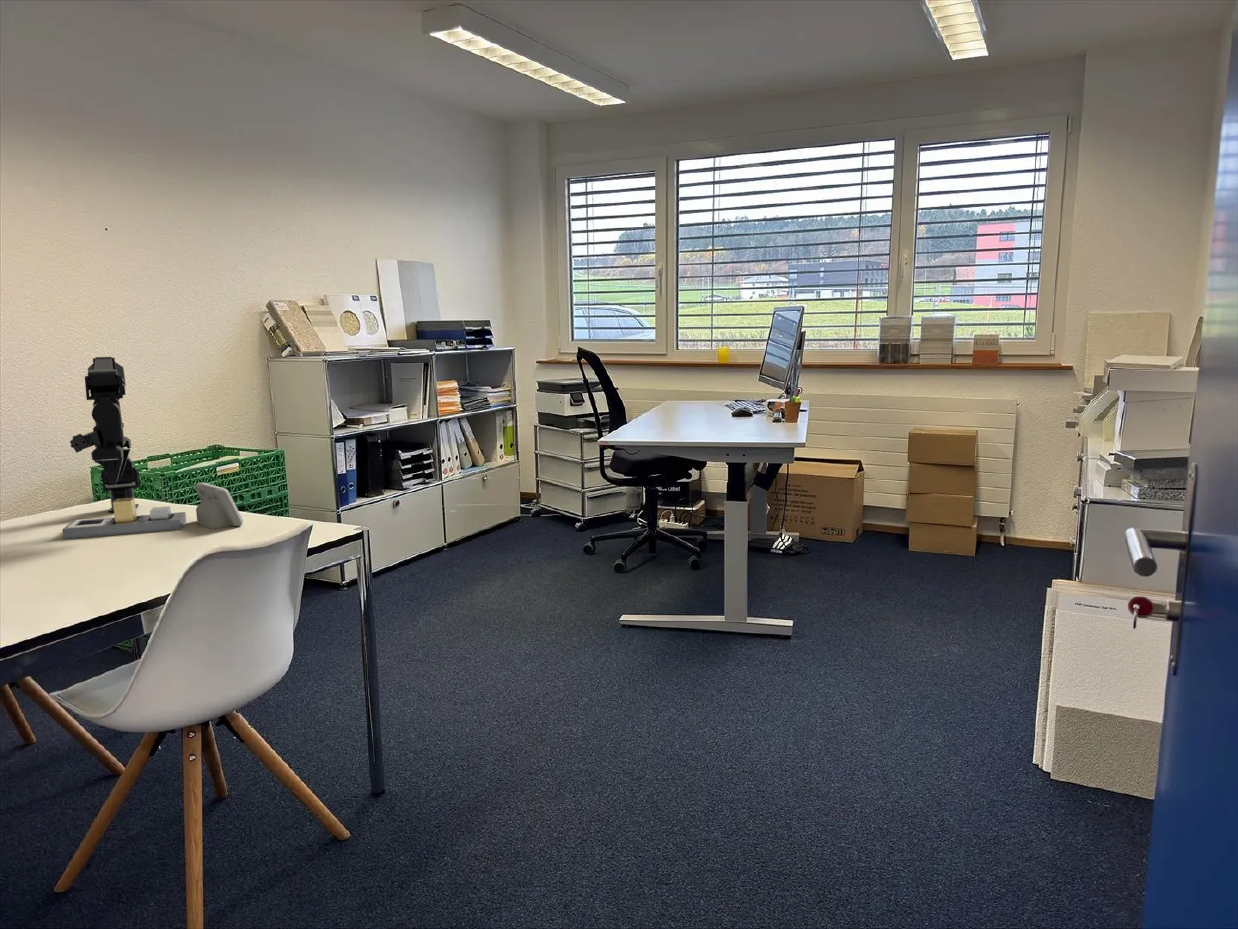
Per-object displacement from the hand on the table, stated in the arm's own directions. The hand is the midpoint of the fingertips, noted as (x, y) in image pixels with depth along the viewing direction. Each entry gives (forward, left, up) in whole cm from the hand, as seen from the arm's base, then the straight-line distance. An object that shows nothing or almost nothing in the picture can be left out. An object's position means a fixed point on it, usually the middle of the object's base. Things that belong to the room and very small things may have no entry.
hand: (116, 481), depth 205 cm
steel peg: (0, +9, -13) cm, 16 cm away
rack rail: (0, +1, -13) cm, 13 cm away
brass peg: (0, +1, -13) cm, 13 cm away
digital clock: (+1, +23, -13) cm, 27 cm away
